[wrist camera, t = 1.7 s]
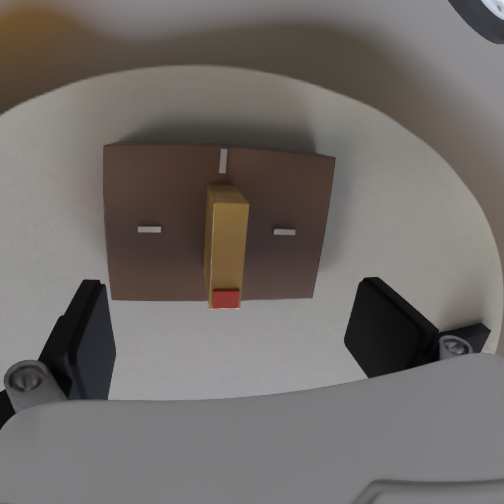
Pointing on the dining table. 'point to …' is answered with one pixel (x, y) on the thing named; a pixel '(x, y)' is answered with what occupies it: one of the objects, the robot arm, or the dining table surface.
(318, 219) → the panel
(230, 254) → the lock knob
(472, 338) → the button block
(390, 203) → the dining table surface
